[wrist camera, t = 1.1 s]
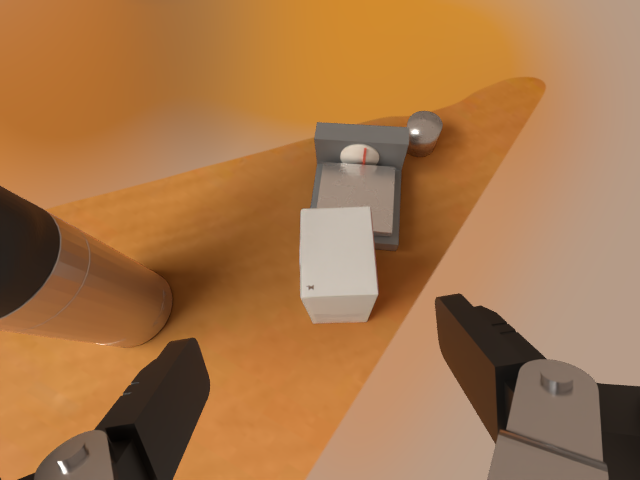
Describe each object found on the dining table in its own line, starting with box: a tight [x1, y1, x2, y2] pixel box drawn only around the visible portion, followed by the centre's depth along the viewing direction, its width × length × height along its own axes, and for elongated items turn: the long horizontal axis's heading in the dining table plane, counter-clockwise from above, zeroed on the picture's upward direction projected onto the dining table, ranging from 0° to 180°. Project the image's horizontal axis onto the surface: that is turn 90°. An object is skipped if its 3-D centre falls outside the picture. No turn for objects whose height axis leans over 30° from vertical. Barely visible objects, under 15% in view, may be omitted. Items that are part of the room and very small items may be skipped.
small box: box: [299, 206, 379, 324], centre depth 33 cm, size 8×6×13 cm
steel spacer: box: [407, 111, 442, 157], centre depth 45 cm, size 4×4×4 cm
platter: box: [317, 162, 395, 237], centre depth 40 cm, size 9×9×1 cm
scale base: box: [310, 122, 409, 251], centre depth 40 cm, size 11×13×7 cm
